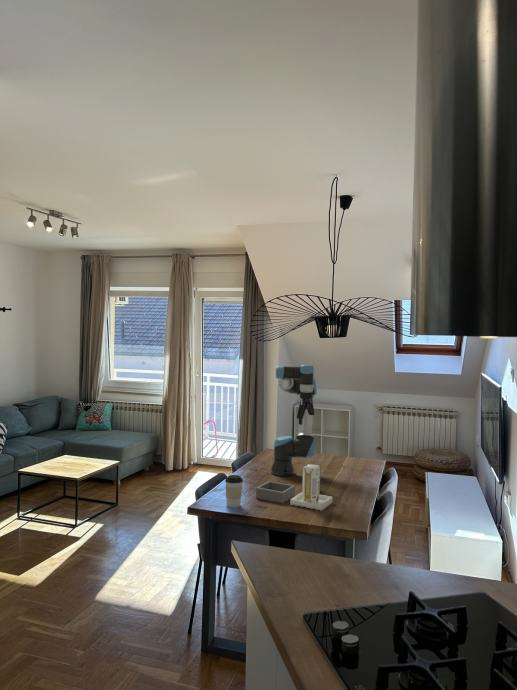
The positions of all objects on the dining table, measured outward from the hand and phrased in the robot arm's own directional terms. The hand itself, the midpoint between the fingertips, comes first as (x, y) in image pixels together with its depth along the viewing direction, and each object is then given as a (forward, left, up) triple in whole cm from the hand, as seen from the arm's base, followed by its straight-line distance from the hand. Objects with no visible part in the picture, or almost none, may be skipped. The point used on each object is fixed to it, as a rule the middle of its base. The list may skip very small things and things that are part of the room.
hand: (305, 428), depth 283 cm
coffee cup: (-18, -48, -35) cm, 62 cm away
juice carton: (+15, -25, -34) cm, 45 cm away
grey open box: (-6, -24, -35) cm, 43 cm away
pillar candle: (+6, -2, -35) cm, 35 cm away
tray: (+15, -24, -35) cm, 44 cm away
